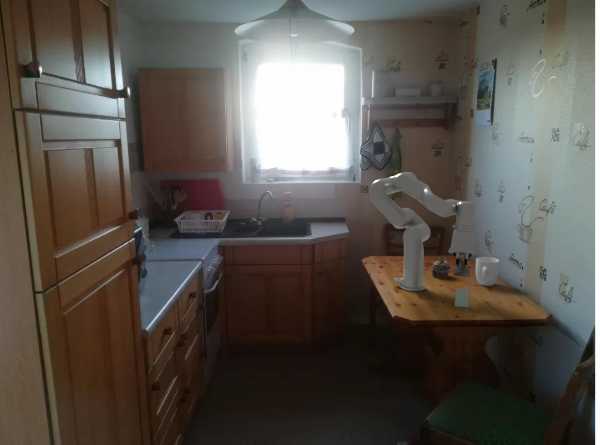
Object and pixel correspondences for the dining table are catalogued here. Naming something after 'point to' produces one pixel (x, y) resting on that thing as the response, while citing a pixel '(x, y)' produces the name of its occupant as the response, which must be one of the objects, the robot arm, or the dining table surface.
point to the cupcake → (440, 268)
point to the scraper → (461, 268)
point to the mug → (487, 270)
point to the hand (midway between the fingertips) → (461, 266)
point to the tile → (462, 297)
